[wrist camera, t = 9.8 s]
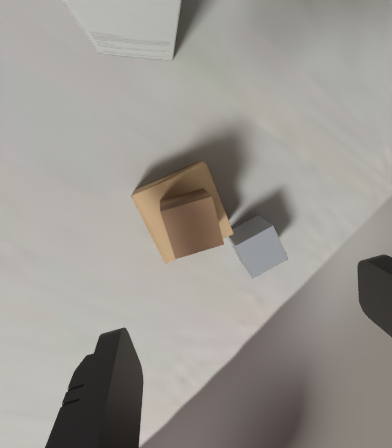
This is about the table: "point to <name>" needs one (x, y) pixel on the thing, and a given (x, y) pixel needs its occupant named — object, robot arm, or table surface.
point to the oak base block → (169, 187)
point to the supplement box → (129, 26)
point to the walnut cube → (191, 222)
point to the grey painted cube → (257, 245)
